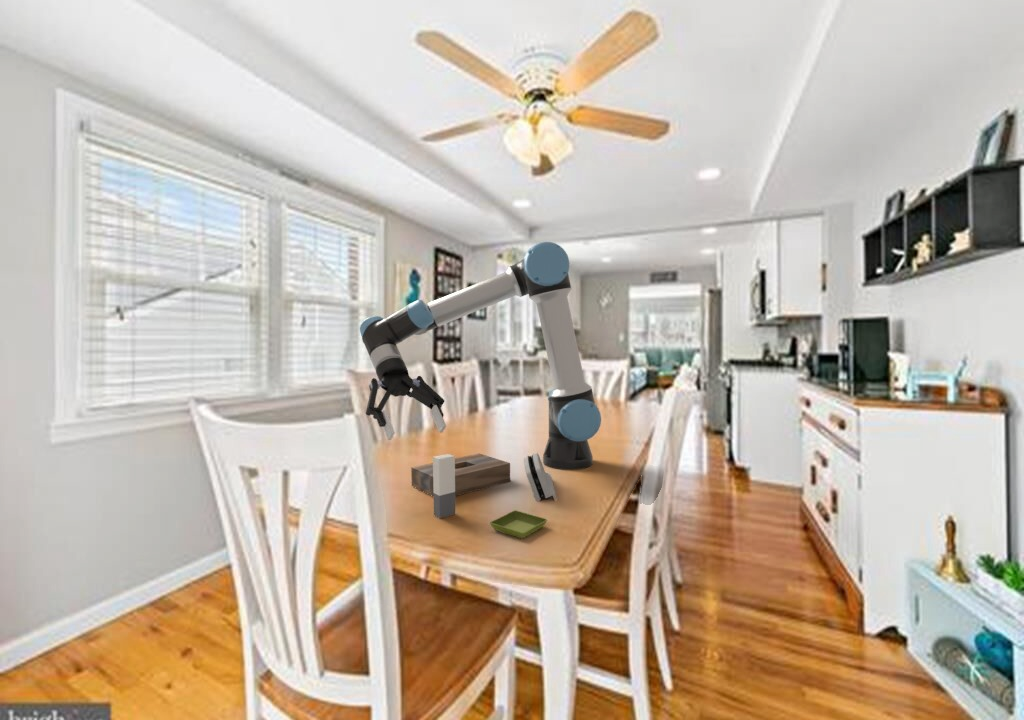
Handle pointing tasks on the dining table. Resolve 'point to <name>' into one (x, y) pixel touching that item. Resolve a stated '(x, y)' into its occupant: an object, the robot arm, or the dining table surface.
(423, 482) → the post foot
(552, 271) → the robot arm
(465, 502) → the dining table surface
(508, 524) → the olive green shallow tray
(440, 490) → the rail end
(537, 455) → the grey curved slotted block
